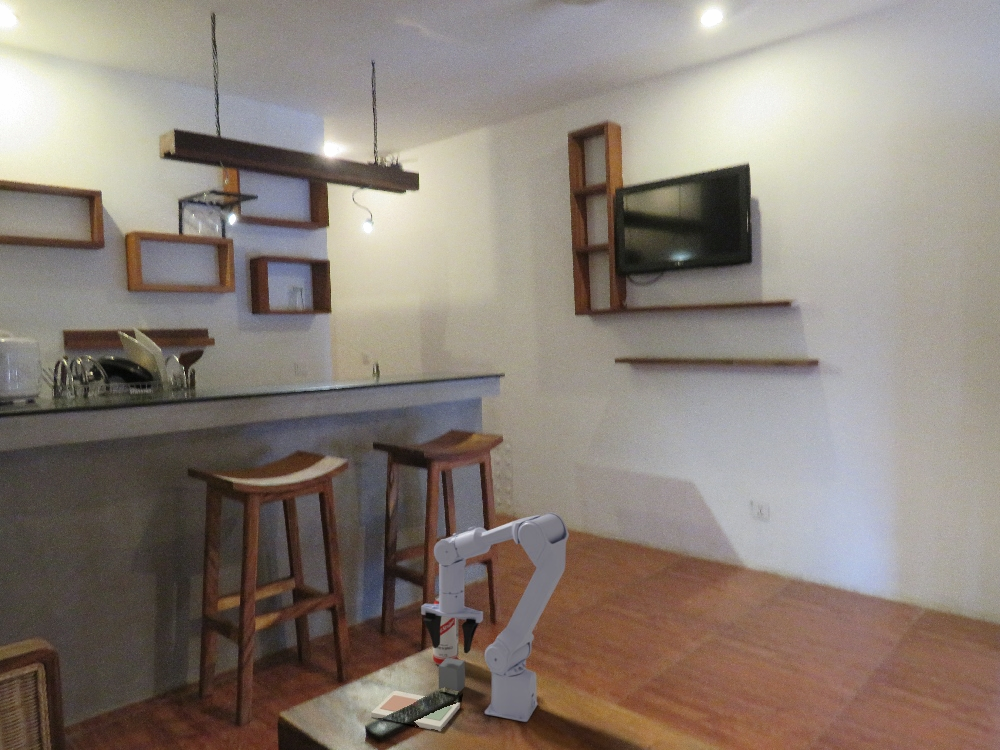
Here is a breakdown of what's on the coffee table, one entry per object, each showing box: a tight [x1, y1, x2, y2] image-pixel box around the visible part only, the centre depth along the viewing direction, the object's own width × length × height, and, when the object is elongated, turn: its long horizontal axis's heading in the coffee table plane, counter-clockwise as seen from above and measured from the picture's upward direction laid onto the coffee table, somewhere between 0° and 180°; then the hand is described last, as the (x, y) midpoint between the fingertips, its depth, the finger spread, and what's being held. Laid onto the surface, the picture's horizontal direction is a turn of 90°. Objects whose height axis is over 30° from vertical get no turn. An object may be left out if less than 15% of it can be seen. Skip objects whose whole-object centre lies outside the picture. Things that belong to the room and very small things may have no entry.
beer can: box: [432, 595, 459, 666], centre depth 171 cm, size 6×6×16 cm
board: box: [370, 690, 461, 732], centre depth 147 cm, size 16×10×1 cm, turn 70°
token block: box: [438, 658, 466, 692], centre depth 158 cm, size 4×4×6 cm
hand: (451, 648), depth 157 cm, fingers open, 7 cm apart
